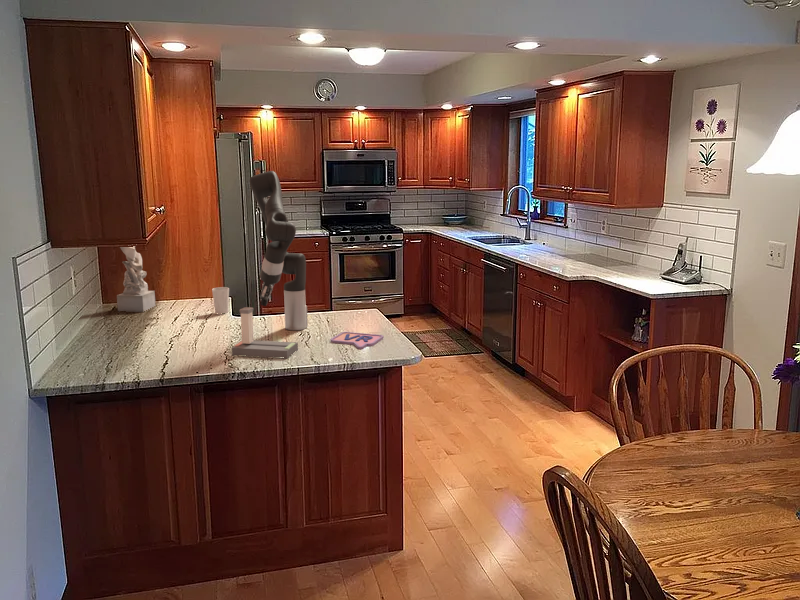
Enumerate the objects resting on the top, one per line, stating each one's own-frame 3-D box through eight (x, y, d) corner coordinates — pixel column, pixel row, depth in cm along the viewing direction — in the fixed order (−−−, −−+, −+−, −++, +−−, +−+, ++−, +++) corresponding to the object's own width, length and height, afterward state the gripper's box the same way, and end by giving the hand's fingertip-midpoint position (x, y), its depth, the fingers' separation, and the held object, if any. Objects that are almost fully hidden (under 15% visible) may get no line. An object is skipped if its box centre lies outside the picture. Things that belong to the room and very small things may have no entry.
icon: (323, 343, 267) (343, 331, 286) (323, 346, 267) (343, 334, 286) (367, 347, 261) (385, 335, 280) (367, 351, 261) (385, 338, 280)
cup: (232, 311, 328) (231, 287, 325) (226, 315, 320) (225, 290, 318) (216, 311, 329) (215, 287, 326) (210, 314, 321) (209, 290, 318)
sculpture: (155, 306, 339) (150, 237, 332) (143, 312, 326) (138, 240, 319) (130, 305, 340) (125, 237, 333) (117, 311, 327) (111, 240, 320)
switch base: (244, 346, 265) (244, 338, 264) (297, 349, 261) (297, 341, 260) (232, 355, 253) (231, 346, 252) (287, 358, 249) (287, 350, 248)
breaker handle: (245, 340, 260) (244, 307, 257) (254, 340, 259) (253, 307, 257) (241, 343, 256) (239, 309, 253) (249, 343, 255) (248, 310, 252)
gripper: (267, 256, 252) (259, 292, 262) (256, 274, 241) (248, 311, 251) (286, 262, 253) (278, 298, 262) (276, 280, 242) (267, 317, 251)
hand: (263, 304), depth 257 cm, fingers closed
